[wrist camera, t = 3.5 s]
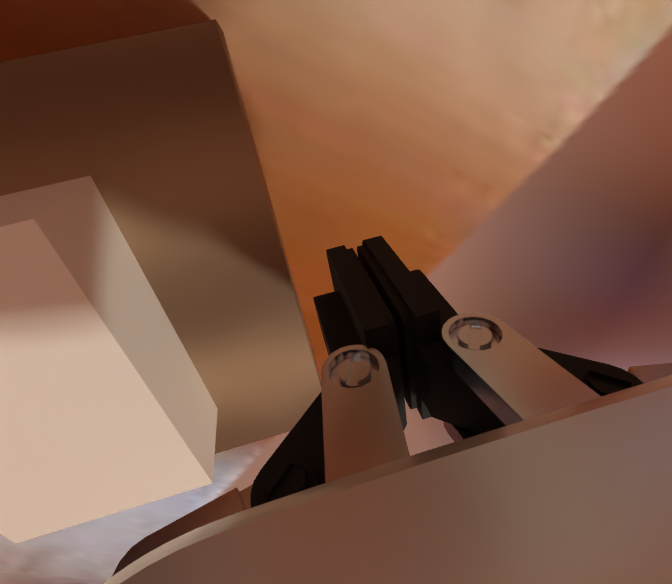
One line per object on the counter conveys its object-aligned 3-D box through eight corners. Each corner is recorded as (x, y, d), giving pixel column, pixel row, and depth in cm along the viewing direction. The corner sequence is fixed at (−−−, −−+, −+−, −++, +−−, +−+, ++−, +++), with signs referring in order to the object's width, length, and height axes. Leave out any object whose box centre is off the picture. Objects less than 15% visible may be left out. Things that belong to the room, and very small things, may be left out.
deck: (-201, 116, 10) (-410, 143, 7) (222, 31, 11) (215, 19, 8) (78, 423, 18) (42, 505, 15) (314, 356, 19) (330, 419, 16)
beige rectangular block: (-173, 235, 9) (-342, 307, 6) (90, 175, 9) (33, 219, 7) (56, 455, 14) (15, 543, 11) (217, 408, 14) (212, 483, 12)
